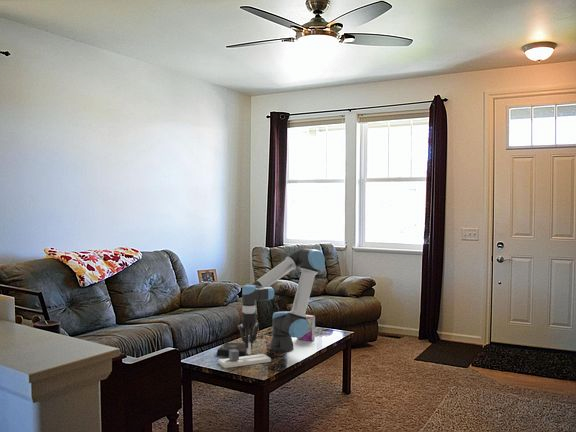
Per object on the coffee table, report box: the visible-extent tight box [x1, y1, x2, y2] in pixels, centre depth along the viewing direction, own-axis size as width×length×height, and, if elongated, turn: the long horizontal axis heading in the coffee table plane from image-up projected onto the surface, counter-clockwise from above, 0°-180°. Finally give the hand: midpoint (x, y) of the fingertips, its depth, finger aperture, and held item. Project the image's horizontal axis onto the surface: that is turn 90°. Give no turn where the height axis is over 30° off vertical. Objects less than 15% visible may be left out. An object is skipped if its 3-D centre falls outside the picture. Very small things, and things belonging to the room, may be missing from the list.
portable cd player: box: [216, 342, 248, 357], centre depth 311 cm, size 16×17×4 cm
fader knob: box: [228, 349, 239, 361], centre depth 288 cm, size 4×5×5 cm
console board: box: [218, 353, 272, 369], centre depth 291 cm, size 28×10×2 cm, turn 118°
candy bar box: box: [296, 314, 316, 342], centre depth 344 cm, size 11×5×16 cm, turn 63°
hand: (248, 353), depth 293 cm, fingers closed
